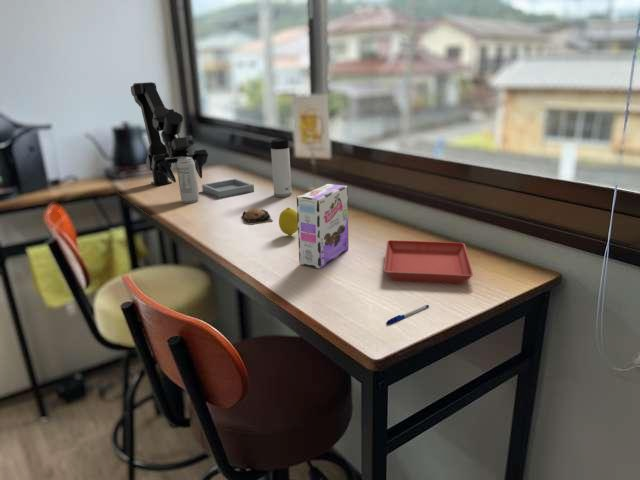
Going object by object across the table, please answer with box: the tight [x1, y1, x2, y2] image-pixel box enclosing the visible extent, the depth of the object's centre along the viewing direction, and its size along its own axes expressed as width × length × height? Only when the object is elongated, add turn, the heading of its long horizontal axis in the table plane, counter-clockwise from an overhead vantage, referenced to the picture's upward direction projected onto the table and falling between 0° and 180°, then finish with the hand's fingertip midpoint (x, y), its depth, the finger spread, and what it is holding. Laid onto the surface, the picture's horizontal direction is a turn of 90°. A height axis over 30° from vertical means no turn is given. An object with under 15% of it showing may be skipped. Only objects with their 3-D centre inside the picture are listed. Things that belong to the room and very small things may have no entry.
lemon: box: [278, 206, 298, 237], centre depth 128 cm, size 6×6×8 cm
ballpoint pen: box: [385, 304, 430, 326], centre depth 87 cm, size 10×1×1 cm, turn 127°
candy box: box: [296, 183, 350, 269], centre depth 111 cm, size 14×6×16 cm, turn 148°
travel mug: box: [270, 137, 293, 198], centre depth 166 cm, size 6×7×20 cm
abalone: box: [241, 208, 273, 226], centre depth 144 cm, size 11×8×4 cm
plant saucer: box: [383, 239, 474, 284], centre depth 106 cm, size 18×18×3 cm
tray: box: [201, 178, 255, 200], centre depth 176 cm, size 14×14×2 cm
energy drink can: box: [175, 157, 200, 204], centre depth 163 cm, size 6×6×15 cm
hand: (188, 179), depth 162 cm, fingers open, 9 cm apart
